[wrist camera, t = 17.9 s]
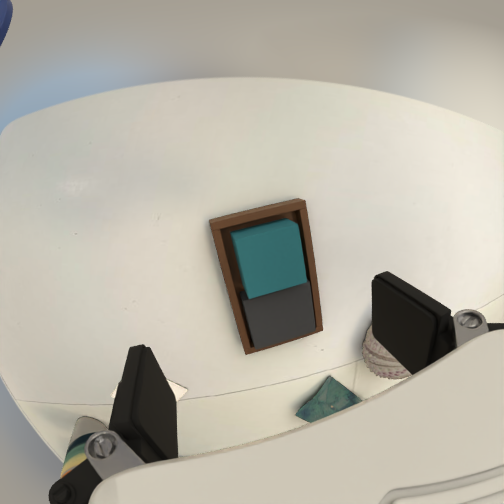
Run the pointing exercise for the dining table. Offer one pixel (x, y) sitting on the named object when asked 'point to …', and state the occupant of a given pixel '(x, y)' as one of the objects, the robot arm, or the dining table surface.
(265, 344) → the charcoal pad
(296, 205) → the frame
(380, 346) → the sea urchin shell
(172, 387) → the coaster
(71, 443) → the grey striped bottle
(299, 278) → the teal block
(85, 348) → the dining table surface
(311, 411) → the terrain model
